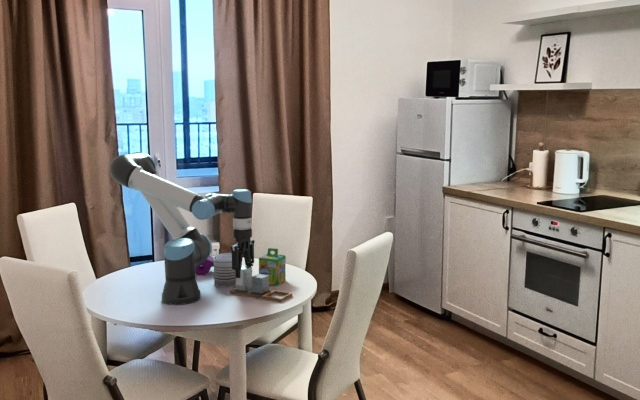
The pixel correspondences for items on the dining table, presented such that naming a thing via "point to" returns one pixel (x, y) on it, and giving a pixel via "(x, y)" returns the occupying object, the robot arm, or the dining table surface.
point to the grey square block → (245, 280)
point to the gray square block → (260, 284)
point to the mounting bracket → (204, 267)
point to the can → (223, 270)
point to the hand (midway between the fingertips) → (243, 283)
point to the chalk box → (273, 266)
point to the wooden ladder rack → (266, 296)
